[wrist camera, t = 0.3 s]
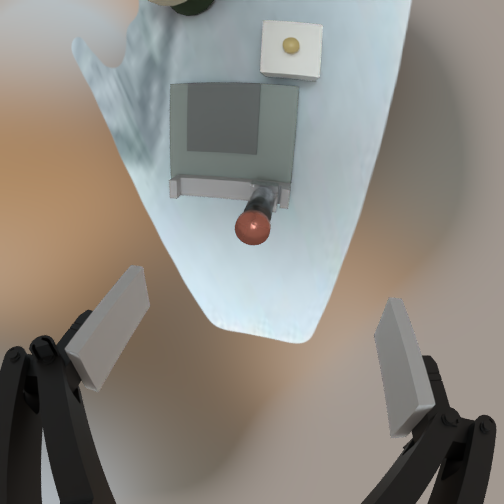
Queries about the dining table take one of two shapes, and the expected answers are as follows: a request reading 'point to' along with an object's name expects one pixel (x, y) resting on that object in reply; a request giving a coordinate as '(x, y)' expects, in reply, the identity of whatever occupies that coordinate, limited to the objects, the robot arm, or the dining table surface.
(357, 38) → the dining table surface
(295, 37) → the housing
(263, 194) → the lever
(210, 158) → the base plate
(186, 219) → the dining table surface
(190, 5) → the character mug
